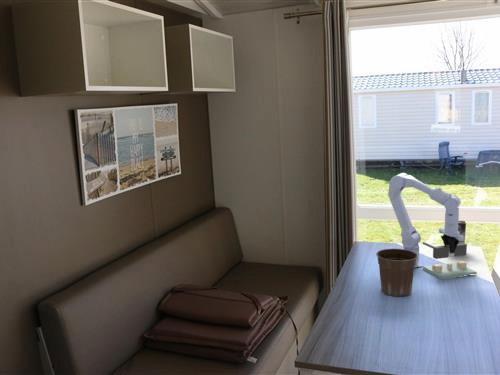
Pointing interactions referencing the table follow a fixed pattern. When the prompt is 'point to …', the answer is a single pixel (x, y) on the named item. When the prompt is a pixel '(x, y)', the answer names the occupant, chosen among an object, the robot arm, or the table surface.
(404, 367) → the table surface
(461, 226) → the coffee box
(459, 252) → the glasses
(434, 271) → the stand
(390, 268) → the plant pot
